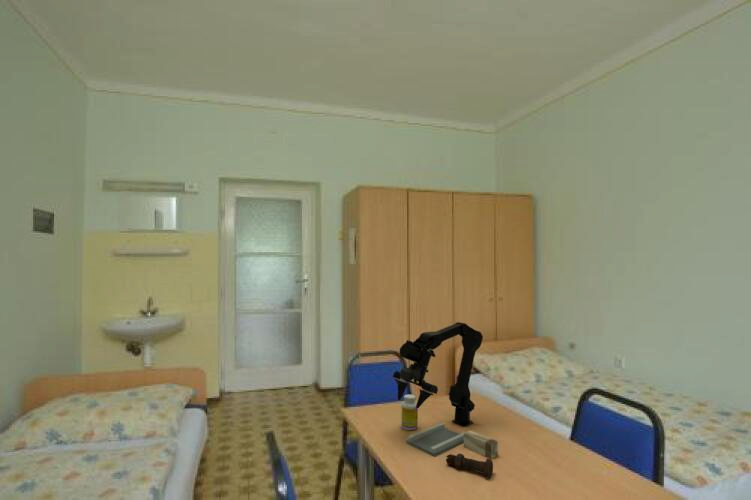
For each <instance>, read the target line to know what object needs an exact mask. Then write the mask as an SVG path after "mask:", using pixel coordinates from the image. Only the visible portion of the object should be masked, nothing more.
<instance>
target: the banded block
mask: <svg viewBox="0 0 751 500" xmlns="http://www.w3.org/2000/svg"><path fill="white" fill-rule="evenodd" d="M463 433H464V432H463ZM498 441H499V440H496V439H493V438H490V437H487V436H485V435H483V434H480V433H477V432H475V431H472V430H468V431H466V433H464V443H463V448H465V449H468V450H470V451H472V452H474V453H476V454H479V455H481V456H483V457H485V458H486V459H487V458H488V459H491V460H493V459H494V458H496V457H497V456H498V455H499V450H498V449H499V442H498Z"/></svg>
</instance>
